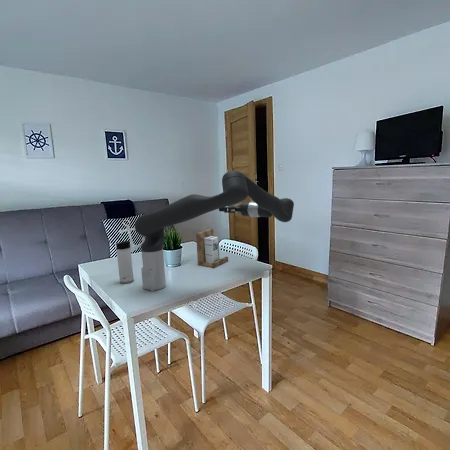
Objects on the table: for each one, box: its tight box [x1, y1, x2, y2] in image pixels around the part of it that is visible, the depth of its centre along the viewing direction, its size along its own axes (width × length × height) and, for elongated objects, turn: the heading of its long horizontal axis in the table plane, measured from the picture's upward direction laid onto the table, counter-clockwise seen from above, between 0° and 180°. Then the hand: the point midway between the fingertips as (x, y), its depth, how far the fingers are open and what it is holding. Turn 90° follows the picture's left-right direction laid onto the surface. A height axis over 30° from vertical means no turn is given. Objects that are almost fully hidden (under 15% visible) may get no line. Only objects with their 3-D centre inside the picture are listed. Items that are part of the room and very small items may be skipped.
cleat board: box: [195, 228, 229, 269], centre depth 156 cm, size 14×11×18 cm
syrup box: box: [204, 235, 221, 264], centre depth 156 cm, size 6×6×14 cm
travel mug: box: [115, 240, 135, 285], centre depth 132 cm, size 6×7×20 cm
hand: (223, 208), depth 142 cm, fingers open, 8 cm apart
